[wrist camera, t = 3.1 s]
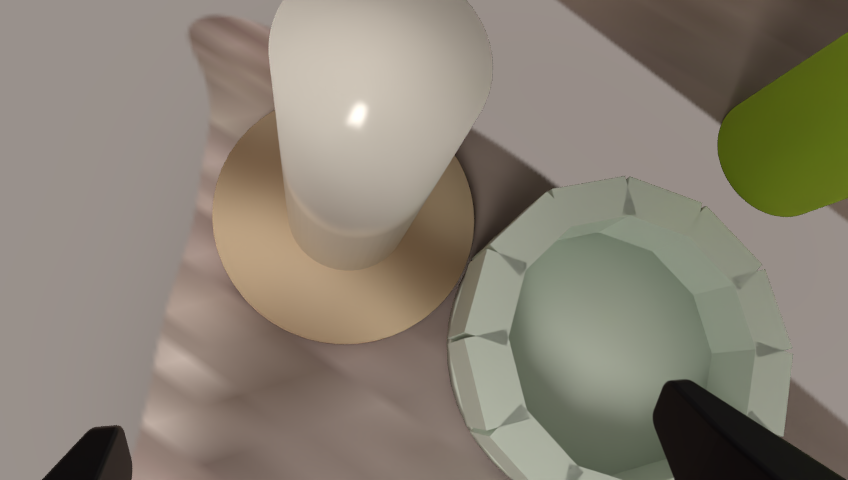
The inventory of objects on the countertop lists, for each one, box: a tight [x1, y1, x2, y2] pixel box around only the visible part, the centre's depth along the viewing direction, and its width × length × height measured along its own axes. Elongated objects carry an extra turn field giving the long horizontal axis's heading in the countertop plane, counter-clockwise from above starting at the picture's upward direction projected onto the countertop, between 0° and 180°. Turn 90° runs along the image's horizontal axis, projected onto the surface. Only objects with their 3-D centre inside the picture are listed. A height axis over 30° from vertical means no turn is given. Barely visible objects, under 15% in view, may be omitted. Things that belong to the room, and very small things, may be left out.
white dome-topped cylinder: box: [269, 0, 493, 271], centre depth 18 cm, size 5×5×12 cm
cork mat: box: [212, 110, 474, 344], centre depth 24 cm, size 10×10×1 cm
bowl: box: [447, 176, 793, 480], centre depth 23 cm, size 12×12×4 cm
